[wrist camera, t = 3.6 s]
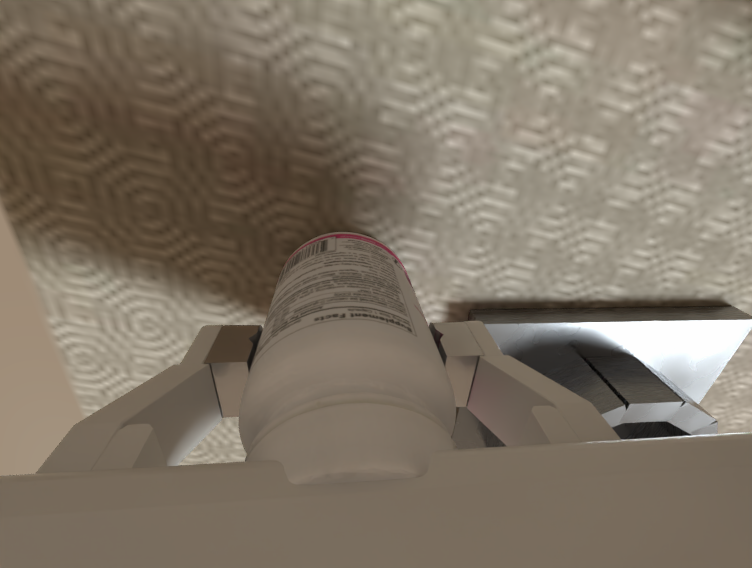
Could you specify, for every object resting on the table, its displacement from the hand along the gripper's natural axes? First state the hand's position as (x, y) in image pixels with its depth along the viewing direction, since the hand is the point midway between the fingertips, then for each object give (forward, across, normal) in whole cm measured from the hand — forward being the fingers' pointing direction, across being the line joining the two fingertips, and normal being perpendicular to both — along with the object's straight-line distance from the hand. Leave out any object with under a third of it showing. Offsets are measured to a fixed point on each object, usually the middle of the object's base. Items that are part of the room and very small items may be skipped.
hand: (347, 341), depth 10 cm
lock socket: (+3, -11, +7) cm, 13 cm away
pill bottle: (+3, 0, 0) cm, 3 cm away
